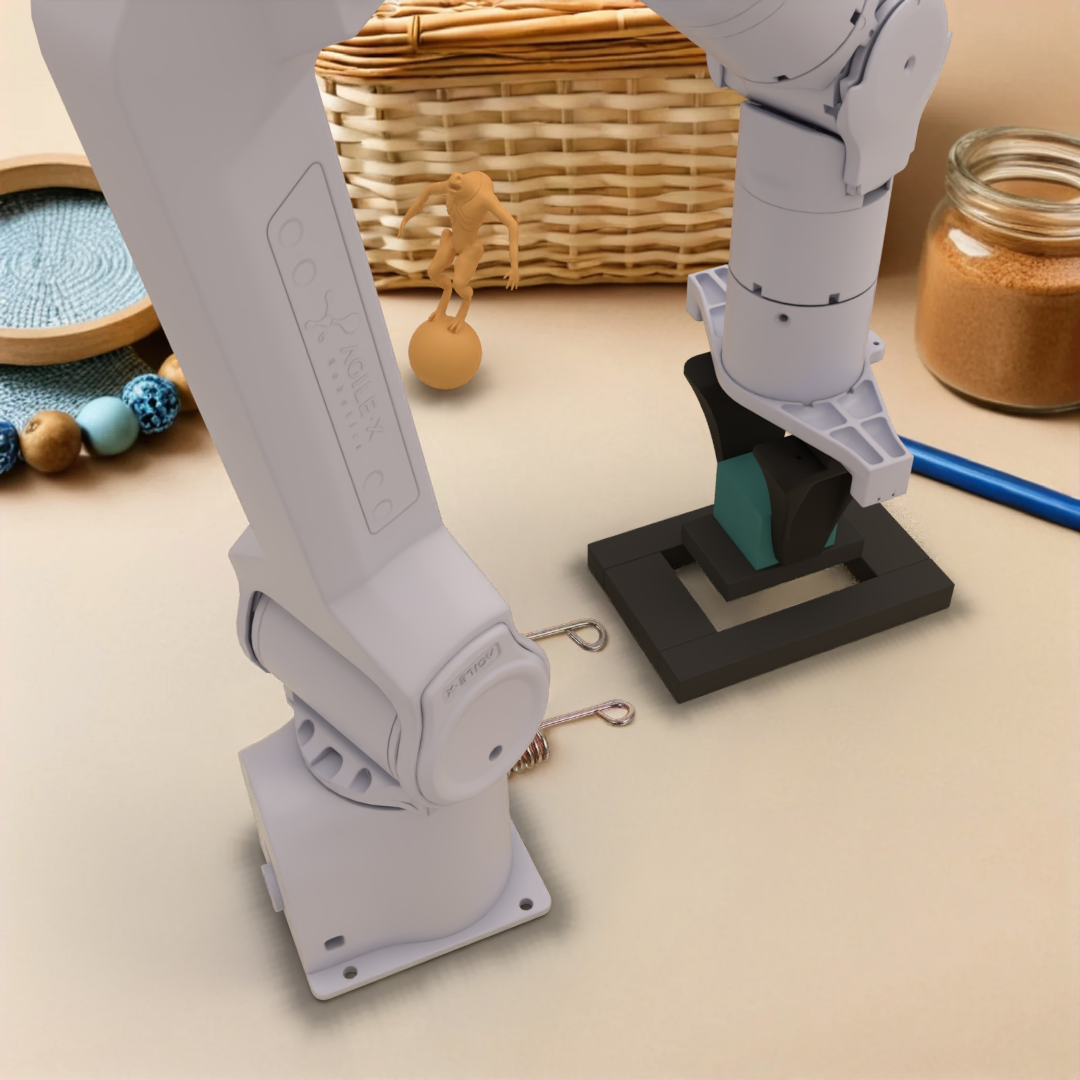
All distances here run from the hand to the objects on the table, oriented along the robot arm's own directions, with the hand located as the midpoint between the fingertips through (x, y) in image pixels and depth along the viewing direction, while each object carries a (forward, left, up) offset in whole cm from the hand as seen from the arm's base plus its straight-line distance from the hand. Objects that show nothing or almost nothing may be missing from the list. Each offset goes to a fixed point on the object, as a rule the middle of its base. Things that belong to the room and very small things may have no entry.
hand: (772, 524), depth 65 cm
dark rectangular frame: (0, 0, -4) cm, 4 cm away
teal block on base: (0, 0, -2) cm, 2 cm away
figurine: (-7, +21, -4) cm, 23 cm away
